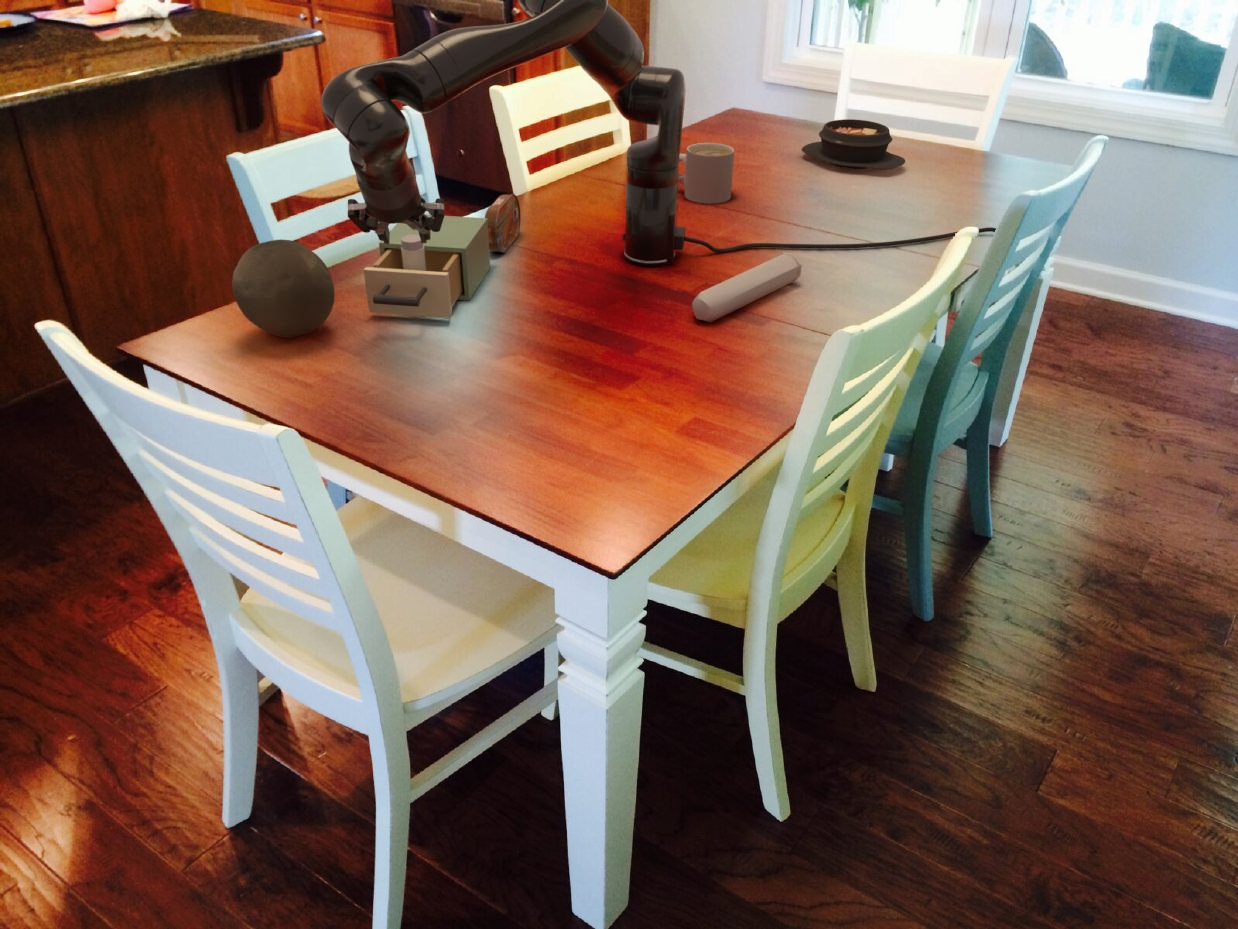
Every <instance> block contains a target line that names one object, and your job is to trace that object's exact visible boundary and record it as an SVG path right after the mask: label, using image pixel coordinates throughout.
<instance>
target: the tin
mask: <svg viewBox="0 0 1238 929" xmlns="http://www.w3.org/2000/svg"><path fill="white" fill-rule="evenodd" d="M484 218H487V220H488V237H489V252H493V253H503V254H505V253H506V252H507V251H508V250H509V248H510V247H511V246H512V244H513V243H514V242H515V240H517V238H518V236H519V234H520V230H521V221H522V220H521V205H520V201H519V199H518V196H517V195H516V194H514V193H511V194H501V195H499V196H498V197H497V198H496V199H495V200H494V201H493V203H492V204H491V205H490V206H489V207H488V208H487V209H486V212H485V215H484Z"/></svg>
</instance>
